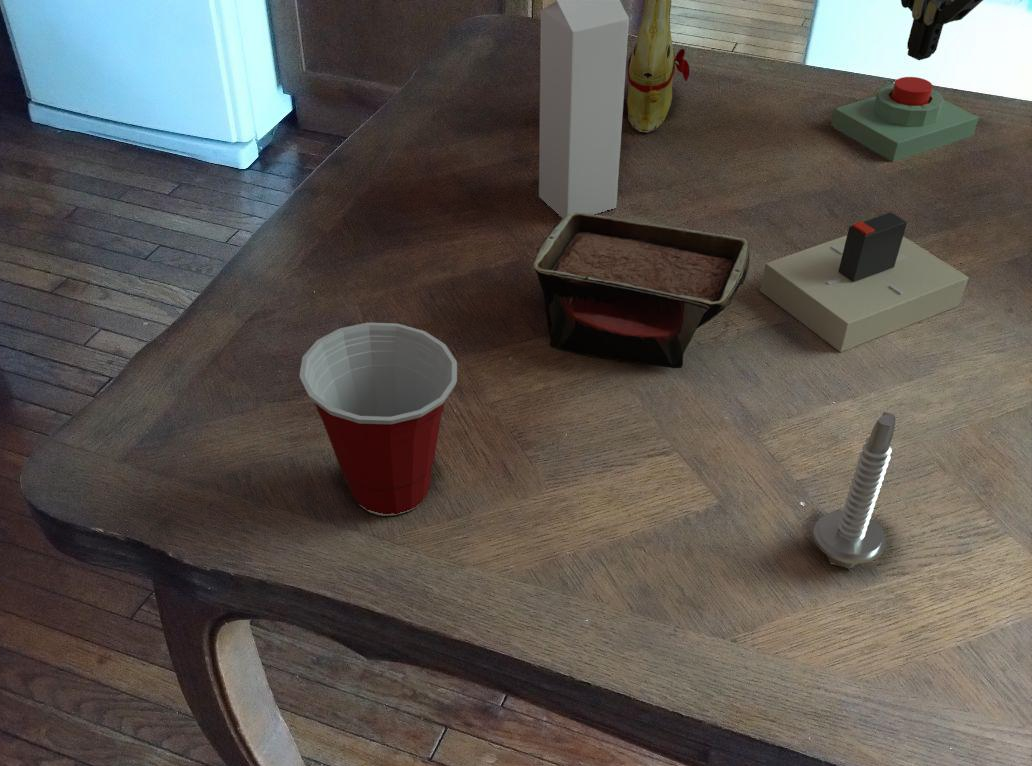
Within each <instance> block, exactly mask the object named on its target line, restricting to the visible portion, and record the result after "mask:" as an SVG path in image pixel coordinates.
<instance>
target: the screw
mask: <svg viewBox="0 0 1032 766" xmlns="http://www.w3.org/2000/svg"><path fill="white" fill-rule="evenodd" d="M895 427H896V415H895V414H894V413H891V412H886V411H884V412H882V415H881V416H880V417H879V418H878V420H877V421H876V422H875V423H874V425H873V427H872V429H871V431H870V436H868V437H866V439H865V444H863V445H862V448H861V449H862V451H861V452H860V453H859V458H858V460H857V465H856V466H855V471H854V473H853V478H852V479H851V484H850V486H849V491H847V497H846V498H845V503H844V505H843V510H836V511H831V512H828V513H825V514H823V515H822V516H821V517H820V518H818V520H817V521H815V525H814V526H813V527H814V528H813V535H812V537H813V540H814V543H815V544H816V546H817V547H818V548H819V549H820V550H821V552H822V553H824V554H825V555H826V554H827V555H826V558H827V557H828V558H827V560H828V559H829V560H828V562H829V561H830V563H834V564H836V565H838V566H837V567H840V566H841V567H840V568H843V567H845V568H844V569H846V568H848V569H847V570H851V569H853V568H855V567H856V566H858V565H860V564H866V563H867V564H868V563H870V562H873V561H874V560H876V559H879V558H880V556H881V555H882V554H883V552H884V550H885V547H886V545H887V538H886V534H885V532H884V530H883V529H882V527H881V526H880V524H878V523H877V522H876V521H875V520H873V518H872V513H873V511H874V508H875V505H876V502H877V499H878V495H879V494H880V490H881V487H882V485H883V481H884V478H885V475H886V473H887V468H888V466H889V462H890V460H891V458H892V454H891V453H892V451H893V446H892V444H891V443H892V439H893V436H894V433H895ZM830 563H829V564H830ZM857 564H858V565H857ZM836 565H835V566H836ZM855 565H856V566H855ZM850 568H851V569H850Z"/></svg>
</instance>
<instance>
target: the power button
mask: <svg viewBox="0 0 1032 766" xmlns="http://www.w3.org/2000/svg"><path fill="white" fill-rule="evenodd" d="M893 84H894V88H893V92H892V96H891V100H893V101H895V102H897V103H899V104H903V105H908V106H922V105H925V104H928V102H929V98H930V95H931V91H932V89H933V83H932V82H931V81H929V80H927V79H925V78H923V77H922V78H921V77H916V76H903V77H900V78H897V79H896V80H895V81H894V83H893Z"/></svg>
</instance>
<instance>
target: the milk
mask: <svg viewBox="0 0 1032 766" xmlns="http://www.w3.org/2000/svg"><path fill="white" fill-rule="evenodd" d="M629 22H630V17H629V16H628V14H627V12H626V10H625V8H624V6H623V4H622V3H621V0H555V1H553V2H551V3H550V4H548V5H547V6H544V7H543V8H541V10H540V50H539V54H540V55H539V57H540V58H539V61H540V62H539V145H538V146H539V150H538V151H539V152H538V153H539V154H538V155H539V156H538V157H539V159H538V162H539V163H538V166H539V167H538V198H539V197H540V198H541V199H542V200H543V201H544V202H545V203H546V204H547V205H546V204H545V203H544V202H543V201H542V200H541V199H540V198H539V199H540V200H541V201H542V202H543V203H544V204H545V205H546V206H547V207H549V206H550V207H551V208H552V209H553V210H554V211H555V212H556V213H557V214H559V215H558V217H560V216H561V217H562V218H564V217H566V216H568V215H569V214H573V213H588V214H596V215H599V214H602V213H601V212H603V213H606V212H608V211H607V210H610V211H612V210H611V209H613V210H615V209H614V208H616V209H617V204H618V203H617V201H618V187H619V186H618V185H619V173H620V171H619V170H620V159H621V158H620V157H621V144H622V142H621V141H622V127H623V126H622V125H623V114H624V113H623V112H624V99H625V85H626V68H627V52H628V38H629V24H630V23H629ZM550 207H549V208H550ZM551 208H550V209H551ZM552 209H551V210H552ZM553 210H552V211H553ZM554 211H553V212H554ZM605 211H606V212H605ZM555 212H554V213H555ZM556 213H555V214H556ZM598 213H599V214H598ZM557 214H556V215H557ZM561 217H560V218H561ZM562 218H561V219H562Z"/></svg>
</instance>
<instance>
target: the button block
mask: <svg viewBox="0 0 1032 766" xmlns="http://www.w3.org/2000/svg"><path fill="white" fill-rule="evenodd" d="M894 84H895V83H892V84H889V85H886V86H881V88H880V89H879V91H878V92H877V93H876V96H872V97H868V98H865V99H860V100H858V101H854V102H851V103H848V104H845V105H841V106H837V107H835V108H834V110H833V114H832V118H831V123H830V127H831V126H833V127H834V128H836V129H838V130H839V131H841V132H843V133H844V134H846V135H848V136H850V137H851V138H853V139H855V140H856V141H855V140H854V141H855V142H857V141H858V142H860V143H861V144H860V143H859V144H860V145H862V144H863V145H862V146H864V147H865V146H866V147H865V148H867V147H868V148H867V149H869V148H870V149H869V150H870V151H872V150H873V151H872V152H874V151H875V152H874V153H876V152H877V153H876V154H877V155H879V154H880V155H879V156H880V157H883V158H885V159H886V160H888V161H890V162H891V163H894V162H897V161H901V160H903V159H906V158H910V157H913V156H916V155H918V154H922V153H925V152H928V151H932V150H935V149H938V148H940V147H941V148H942V147H943V146H946V145H949V144H953V143H957V142H959V141H962V140H965V139H968V138H971V137H974V134H975V132H976V128H977V125H978V122H979V119H980V117H979V116H978V115H976V114H973V113H971V112H970V111H967V110H965V109H963V108H961V107H959V106H958V105H956V104H953V103H951V102H950V101H947V100H945V99H944V97H943V96H942V94H941V92H938V91H937V90H935V89H933V88H932V91H931V95H930V98H929V102H928V104H925V105H922V106H908V105H903V104H899V103H897V102H895V101H893V100H891V96H892V92H893V88H894ZM834 128H833V129H834ZM836 129H835V130H836ZM839 131H838V132H839ZM841 132H840V133H841ZM843 133H842V134H843ZM844 134H843V135H844ZM846 135H845V136H846ZM848 136H847V137H848ZM850 137H849V138H850ZM851 138H850V139H851ZM853 139H852V140H853ZM858 142H857V143H858Z"/></svg>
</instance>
